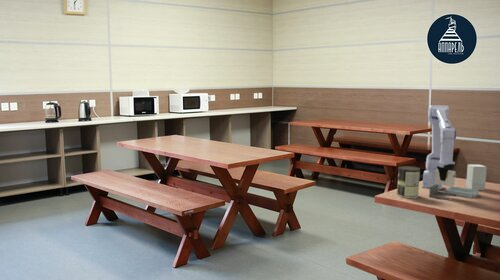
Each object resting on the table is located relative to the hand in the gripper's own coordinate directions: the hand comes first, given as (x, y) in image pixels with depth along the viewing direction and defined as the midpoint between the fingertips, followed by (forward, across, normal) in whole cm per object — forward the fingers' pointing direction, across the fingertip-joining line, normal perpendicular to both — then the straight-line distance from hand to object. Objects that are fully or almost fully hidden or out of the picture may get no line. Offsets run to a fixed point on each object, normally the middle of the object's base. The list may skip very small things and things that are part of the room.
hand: (444, 179), depth 243 cm
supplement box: (+9, +31, -7) cm, 33 cm away
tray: (+8, +12, -6) cm, 16 cm away
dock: (+8, 0, 0) cm, 8 cm away
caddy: (+2, 0, 0) cm, 2 cm away
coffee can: (+9, -11, +14) cm, 20 cm away
